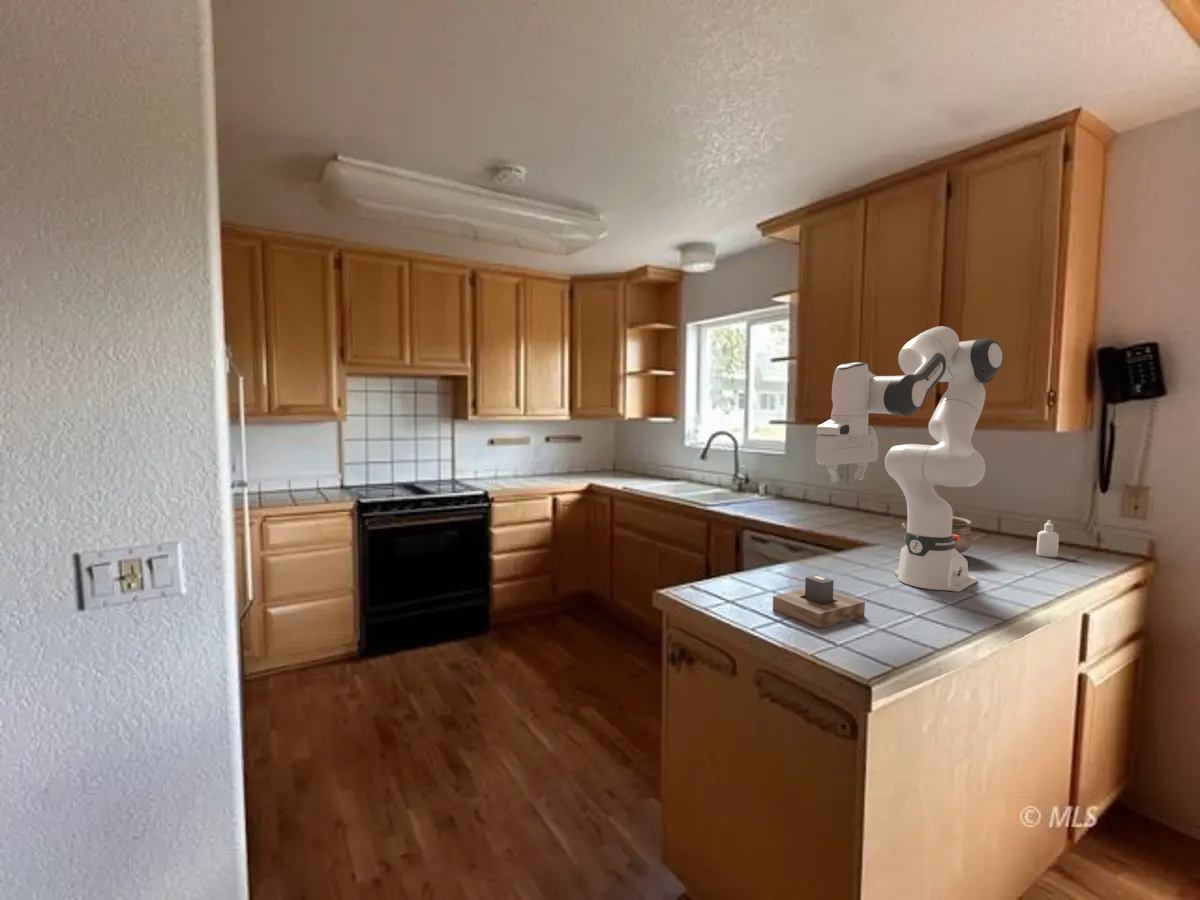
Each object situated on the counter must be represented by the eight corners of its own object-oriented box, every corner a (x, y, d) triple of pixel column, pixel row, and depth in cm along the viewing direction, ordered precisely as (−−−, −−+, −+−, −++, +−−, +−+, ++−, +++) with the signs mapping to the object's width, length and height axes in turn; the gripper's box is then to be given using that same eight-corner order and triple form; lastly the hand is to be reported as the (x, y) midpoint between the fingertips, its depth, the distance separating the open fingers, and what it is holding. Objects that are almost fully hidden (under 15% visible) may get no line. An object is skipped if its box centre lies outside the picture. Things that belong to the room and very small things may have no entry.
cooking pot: (993, 560, 195) (995, 522, 193) (963, 569, 184) (966, 530, 183) (916, 543, 215) (917, 510, 214) (886, 551, 205) (887, 516, 204)
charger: (815, 606, 151) (816, 574, 150) (832, 612, 146) (833, 579, 145) (804, 609, 149) (805, 576, 148) (821, 615, 144) (822, 581, 143)
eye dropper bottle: (1037, 553, 203) (1040, 517, 202) (1058, 556, 199) (1061, 520, 198) (1035, 555, 200) (1037, 519, 199) (1056, 558, 196) (1058, 522, 195)
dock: (817, 598, 157) (817, 585, 157) (864, 616, 145) (864, 601, 145) (772, 609, 149) (773, 596, 149) (818, 628, 137) (819, 613, 137)
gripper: (864, 425, 161) (862, 476, 163) (811, 427, 151) (810, 482, 153) (886, 426, 156) (883, 479, 157) (832, 428, 146) (830, 485, 147)
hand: (847, 480), depth 155 cm, fingers open, 8 cm apart
